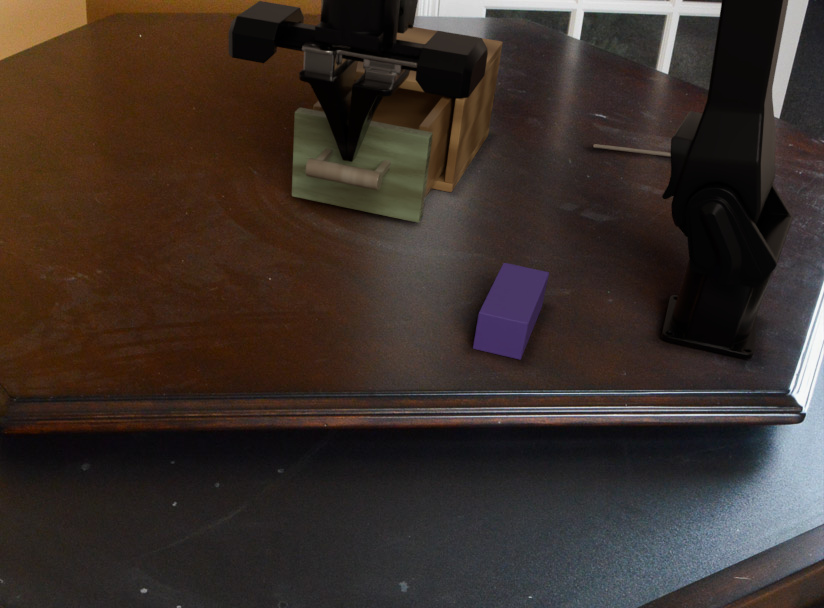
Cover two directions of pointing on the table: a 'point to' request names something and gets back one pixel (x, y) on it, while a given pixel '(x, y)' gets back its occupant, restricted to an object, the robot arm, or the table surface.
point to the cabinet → (459, 110)
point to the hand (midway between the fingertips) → (349, 159)
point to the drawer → (376, 156)
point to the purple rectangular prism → (510, 311)
